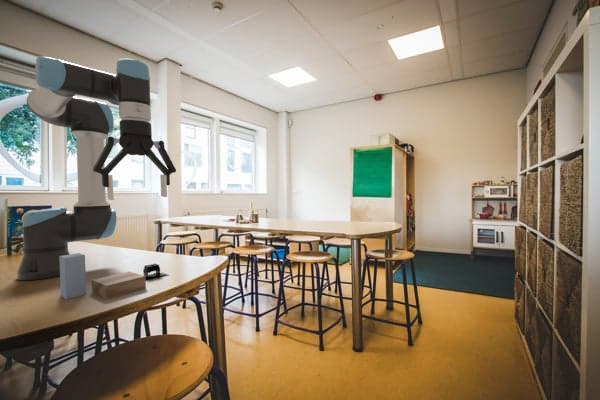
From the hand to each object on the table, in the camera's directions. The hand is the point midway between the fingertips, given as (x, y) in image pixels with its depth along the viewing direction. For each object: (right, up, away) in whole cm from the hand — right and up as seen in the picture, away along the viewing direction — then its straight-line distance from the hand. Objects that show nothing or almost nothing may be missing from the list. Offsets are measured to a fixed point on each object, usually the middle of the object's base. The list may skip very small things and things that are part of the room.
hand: (139, 198), depth 79 cm
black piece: (-4, -27, +15) cm, 31 cm away
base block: (-7, -27, +2) cm, 28 cm away
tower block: (-18, -27, -1) cm, 32 cm away
